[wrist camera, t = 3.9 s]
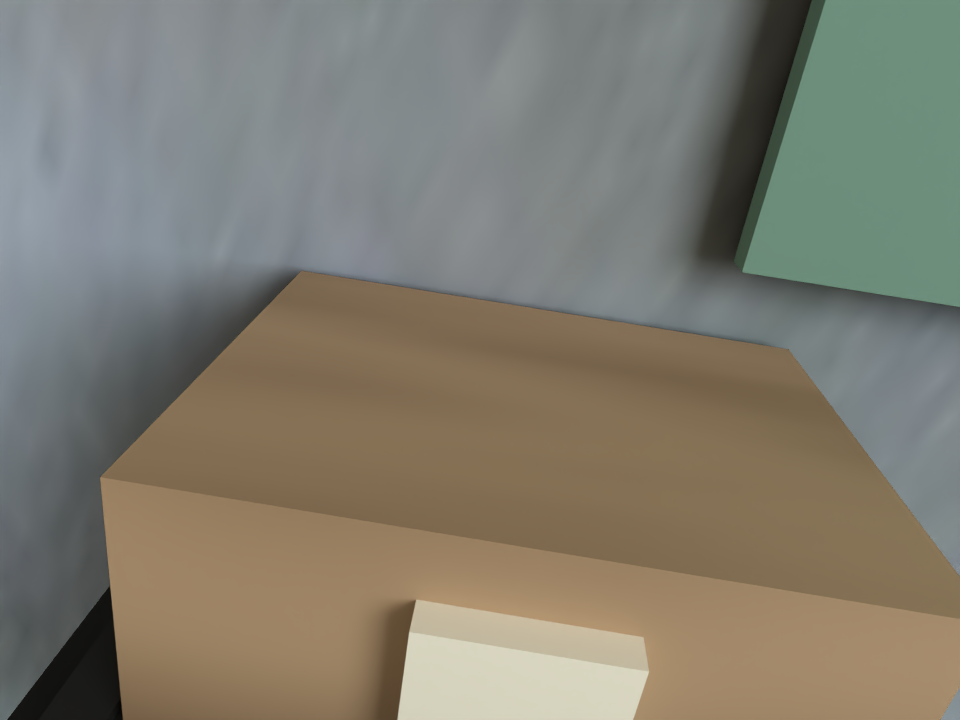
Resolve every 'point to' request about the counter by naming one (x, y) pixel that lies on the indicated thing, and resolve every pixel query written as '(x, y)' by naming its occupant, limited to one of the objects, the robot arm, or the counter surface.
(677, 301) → the counter surface
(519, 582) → the cardboard box
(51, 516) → the counter surface
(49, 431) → the counter surface
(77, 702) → the robot arm
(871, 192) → the play mat
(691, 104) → the counter surface
